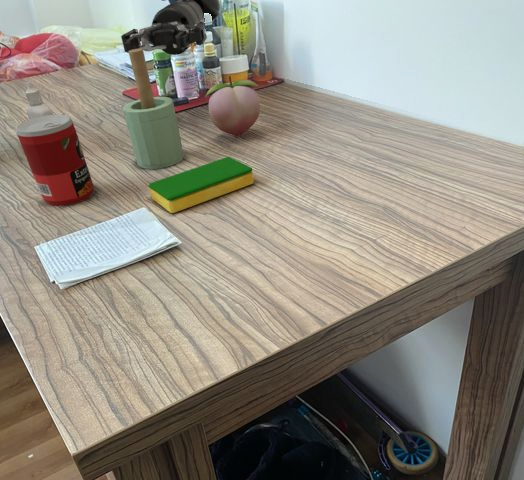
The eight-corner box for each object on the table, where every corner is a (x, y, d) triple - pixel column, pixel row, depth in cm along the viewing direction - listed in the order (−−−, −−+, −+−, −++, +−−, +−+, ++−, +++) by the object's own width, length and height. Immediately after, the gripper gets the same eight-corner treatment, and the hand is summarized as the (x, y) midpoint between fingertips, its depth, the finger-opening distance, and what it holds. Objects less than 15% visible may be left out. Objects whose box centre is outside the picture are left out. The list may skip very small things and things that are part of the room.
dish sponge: (151, 199, 76) (147, 183, 74) (230, 171, 81) (228, 155, 79) (172, 214, 71) (168, 198, 69) (255, 183, 76) (253, 167, 74)
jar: (154, 172, 84) (140, 114, 78) (128, 162, 88) (113, 107, 83) (192, 156, 87) (182, 100, 82) (166, 148, 92) (154, 94, 86)
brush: (157, 161, 86) (132, 53, 75) (147, 157, 88) (121, 51, 77) (173, 154, 87) (150, 48, 77) (162, 151, 89) (138, 47, 79)
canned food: (91, 203, 77) (65, 127, 70) (38, 210, 77) (7, 134, 70) (99, 182, 83) (76, 111, 76) (50, 189, 83) (22, 118, 76)
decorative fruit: (254, 124, 97) (248, 66, 91) (268, 137, 91) (262, 75, 84) (207, 134, 95) (197, 75, 89) (217, 148, 89) (207, 85, 83)
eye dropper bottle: (63, 144, 100) (40, 77, 92) (67, 152, 96) (42, 83, 88) (41, 149, 99) (15, 82, 91) (43, 158, 95) (16, 88, 87)
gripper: (136, 7, 95) (106, 24, 83) (210, -1, 93) (190, 14, 81) (146, 53, 100) (119, 74, 88) (217, 46, 98) (199, 67, 86)
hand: (153, 46), depth 85 cm, fingers open, 8 cm apart
